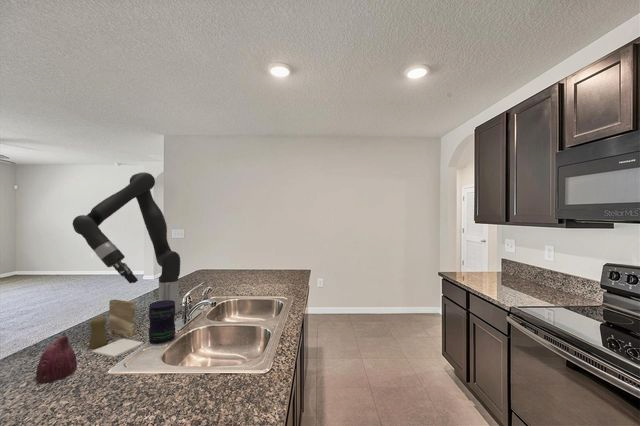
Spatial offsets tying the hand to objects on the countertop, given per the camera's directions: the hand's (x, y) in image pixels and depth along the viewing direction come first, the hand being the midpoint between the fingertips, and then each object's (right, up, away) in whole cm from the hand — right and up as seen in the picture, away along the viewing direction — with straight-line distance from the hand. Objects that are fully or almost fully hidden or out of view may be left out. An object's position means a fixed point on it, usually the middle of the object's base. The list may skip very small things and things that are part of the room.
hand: (134, 282), depth 131 cm
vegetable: (-3, -22, -35) cm, 42 cm away
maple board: (-4, -22, -2) cm, 23 cm away
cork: (-5, -22, -14) cm, 27 cm away
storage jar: (+17, -22, -8) cm, 29 cm away
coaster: (+4, -22, -17) cm, 28 cm away
